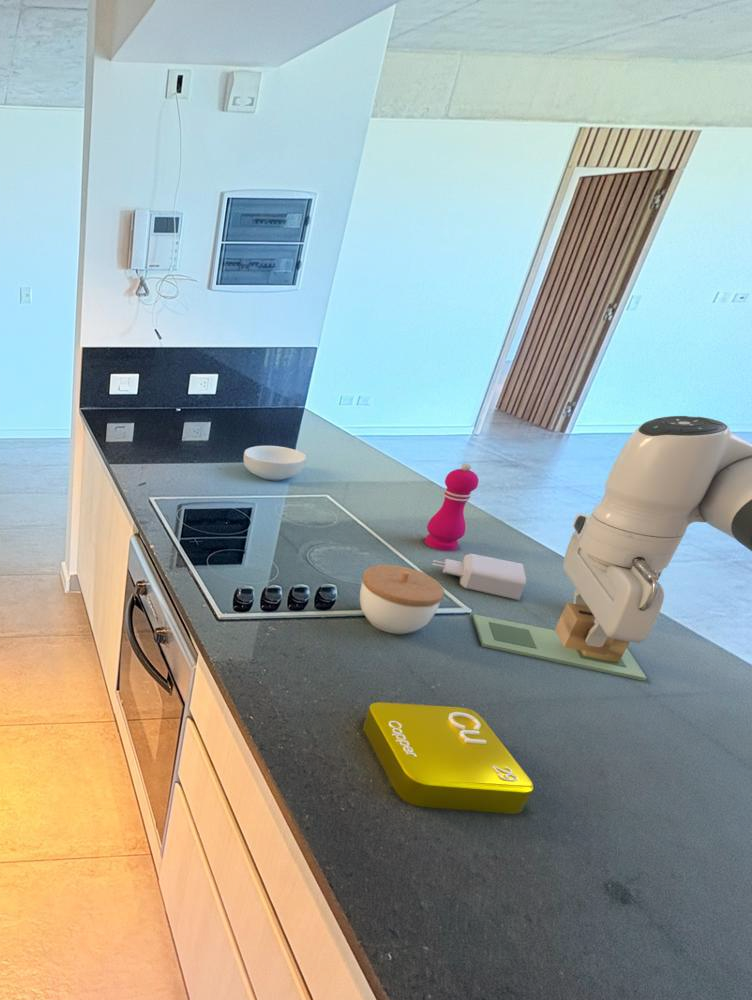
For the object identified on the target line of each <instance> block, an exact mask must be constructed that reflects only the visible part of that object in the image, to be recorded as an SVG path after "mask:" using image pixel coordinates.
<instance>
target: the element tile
mask: <svg viewBox="0 0 752 1000" xmlns="http://www.w3.org/2000/svg"><path fill="white" fill-rule="evenodd" d="M362 728H363V729H362V730H363V732H364V734H365V736H366V737H367V739H368V741H369V743H370V746H371V747H372V749H373V751H374V753H375V755H376V757H377V759H378V761H379V763H380V765H381V766H382V769H383V770H384V772H385V774H386V777H387V778H388V779H389V781H390V784H391V785H392V787H393V789H394V792H395V793H396V794H397V796H399V798H401V799H402V800H403V801H404V802H406V803H407V804H410V805H412V806H416V807H420V808H431V809H434V808H435V809H444V810H445V809H446V810H458V811H469V812H470V811H471V812H484V813H495V814H496V813H497V814H509V815H515V814H519V813H521V812H523V810H524V808H525V807H526V804H527V802H528V800H529V798H530V796H531V794H532V792H533V791H534V784H533V781H532V780H531V779H530V777H529V776H528V774H527V773H526V772H525V771H524V769H523V767H521V766H520V765H519V763H518V762H517V761H516V759H515V758H514V757H513V755H512V754H511V753H510V752H509V750H508V749H507V748H506V747H505V744H504V743H503V742H502V741H501V739H499V737H498V736H497V735H496V733H495V732H494V731H493V730H492V729H491V727H490V725H488V723H487V721H486V720H485V719H484V718H483V717H482V716H481V715H480V714H478V713H477V712H476V711H475V710H473V709H470V708H466V707H461V706H448V705H447V706H446V705H431V704H419V703H418V704H417V703H403V702H385V701H376V702H372V703H371V704H370V705H368V710H367V713H366V716H365V719H364V722H363V727H362Z"/></svg>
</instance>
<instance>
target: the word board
mask: <svg viewBox="0 0 752 1000" xmlns="http://www.w3.org/2000/svg"><path fill="white" fill-rule="evenodd" d="M472 619H473V622H474V625H475V629H476V631H477V635H478V639H479V641H480V644H481V647H482V648H488V649H493V650H497V651H501V652H502V651H503V652H507V653H512V654H517V655H521V656H525V657H530V658H535V659H539V660H544V661H549V662H553V663H559V664H563V665H566V666H572V667H577V668H581V669H587V670H591V671H596V672H600V673H604V674H611V675H615V676H620V677H624V678H627V679H628V678H629V679H632V680H633V679H634V680H638V681H642V682H646V680H647V675H645V673H644V671H643V670H642V668H641V667H640V666H639V664H638V662H637V661H636V659H635V657H634V656H633V655H632V654H631V652H630V650H629V649H628V647H627V648H626V650H625V652H624V654H623V656H622V658H621V659H620V661H619V663H616V662H611V661H606V660H601V659H596V658H591V657H587V656H584V655H583V653H582V652H581V650H577V649H572V648H567V647H564V646H563V644H562V642H561V640H560V638H559V636H558V634H557V632H556V631H555V629H551V628H545V627H540V626H535V625H530V624H526V623H520V622H516V621H511V620H504V619H500V618H495V617H490V616H484V615H480V614H476V613H475V614H473V615H472Z"/></svg>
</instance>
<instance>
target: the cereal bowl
mask: <svg viewBox="0 0 752 1000" xmlns="http://www.w3.org/2000/svg"><path fill="white" fill-rule="evenodd" d="M306 461H307V456H306V455H305V453H303V452H301V451H300V450H297V449H294V448H290V447H285V446H280V445H279V446H278V445H255V446H251V447H247V448H246V449H244V452H243V464H244V467H245V469H247V471H249V472H250V473H251V474H252V475H255V476H257V477H258V478H260V479H264V480H266V481H267V480H268V481H284V480H286V479H289V478H290V479H291V478H294V477H296V476H297V475H299V474H300V473H301V472H302V471H303V469H304V468H305V465H306Z"/></svg>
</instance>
